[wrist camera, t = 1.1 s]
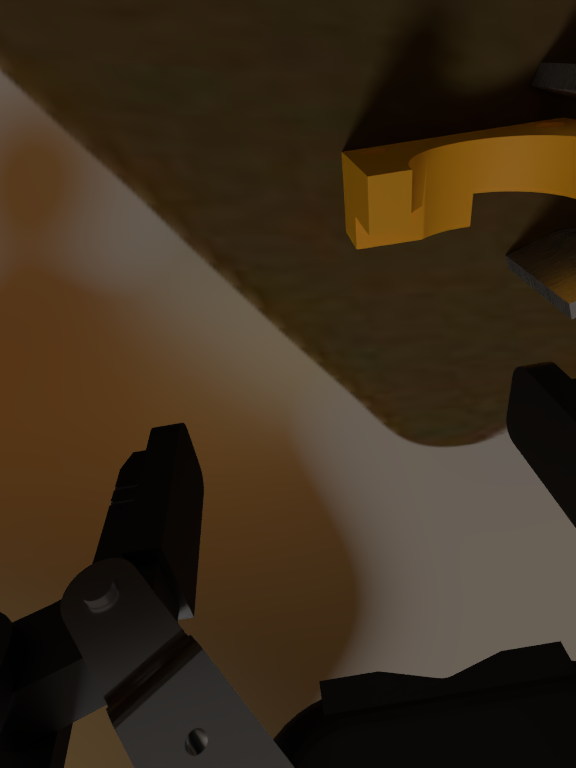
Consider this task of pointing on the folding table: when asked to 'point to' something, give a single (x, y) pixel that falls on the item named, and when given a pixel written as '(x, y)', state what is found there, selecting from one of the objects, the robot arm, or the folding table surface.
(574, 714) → the robot arm
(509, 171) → the pipe clamp
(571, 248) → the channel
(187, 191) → the folding table surface
